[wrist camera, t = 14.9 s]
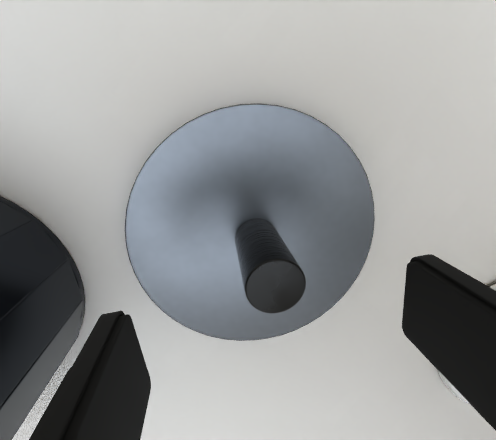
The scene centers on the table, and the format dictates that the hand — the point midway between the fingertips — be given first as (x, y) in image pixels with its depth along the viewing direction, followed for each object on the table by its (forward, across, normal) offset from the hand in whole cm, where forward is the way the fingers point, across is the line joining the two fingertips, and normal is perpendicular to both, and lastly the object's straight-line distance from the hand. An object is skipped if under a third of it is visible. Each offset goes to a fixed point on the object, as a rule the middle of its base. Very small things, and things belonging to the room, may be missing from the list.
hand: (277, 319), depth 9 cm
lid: (+8, -1, 0) cm, 8 cm away
